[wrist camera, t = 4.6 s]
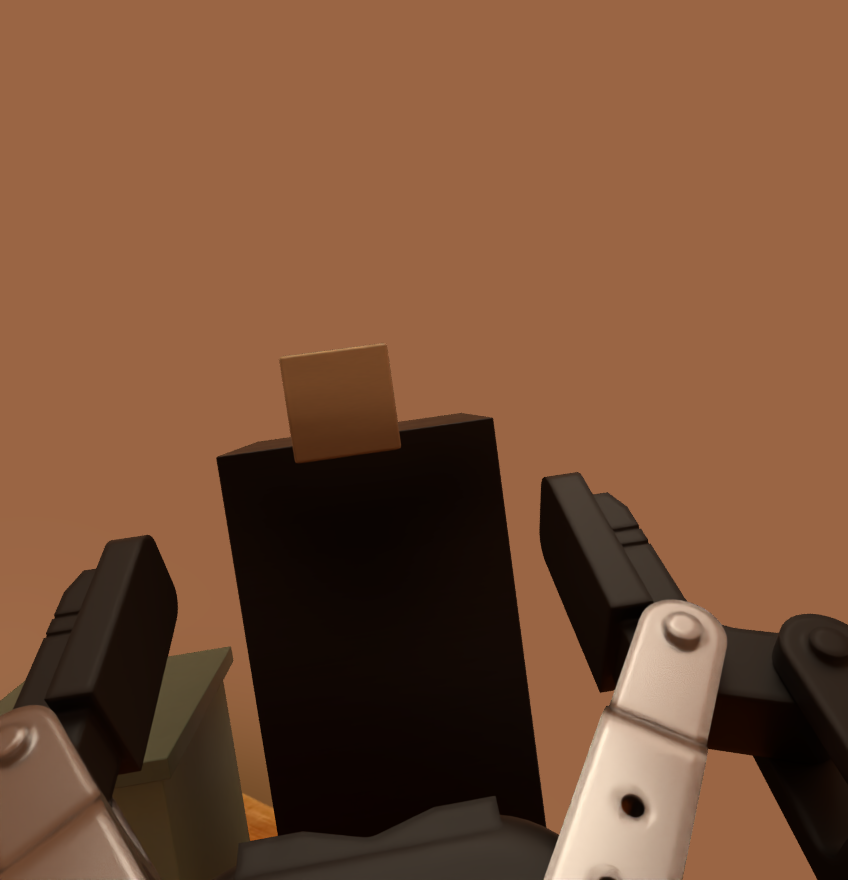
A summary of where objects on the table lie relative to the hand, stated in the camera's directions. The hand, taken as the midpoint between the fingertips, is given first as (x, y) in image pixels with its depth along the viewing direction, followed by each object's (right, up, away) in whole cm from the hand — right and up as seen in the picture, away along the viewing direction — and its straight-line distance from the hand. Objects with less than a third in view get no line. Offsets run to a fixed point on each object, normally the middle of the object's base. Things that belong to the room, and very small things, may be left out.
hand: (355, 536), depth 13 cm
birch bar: (-1, +2, +12) cm, 12 cm away
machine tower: (+3, -29, +16) cm, 33 cm away
